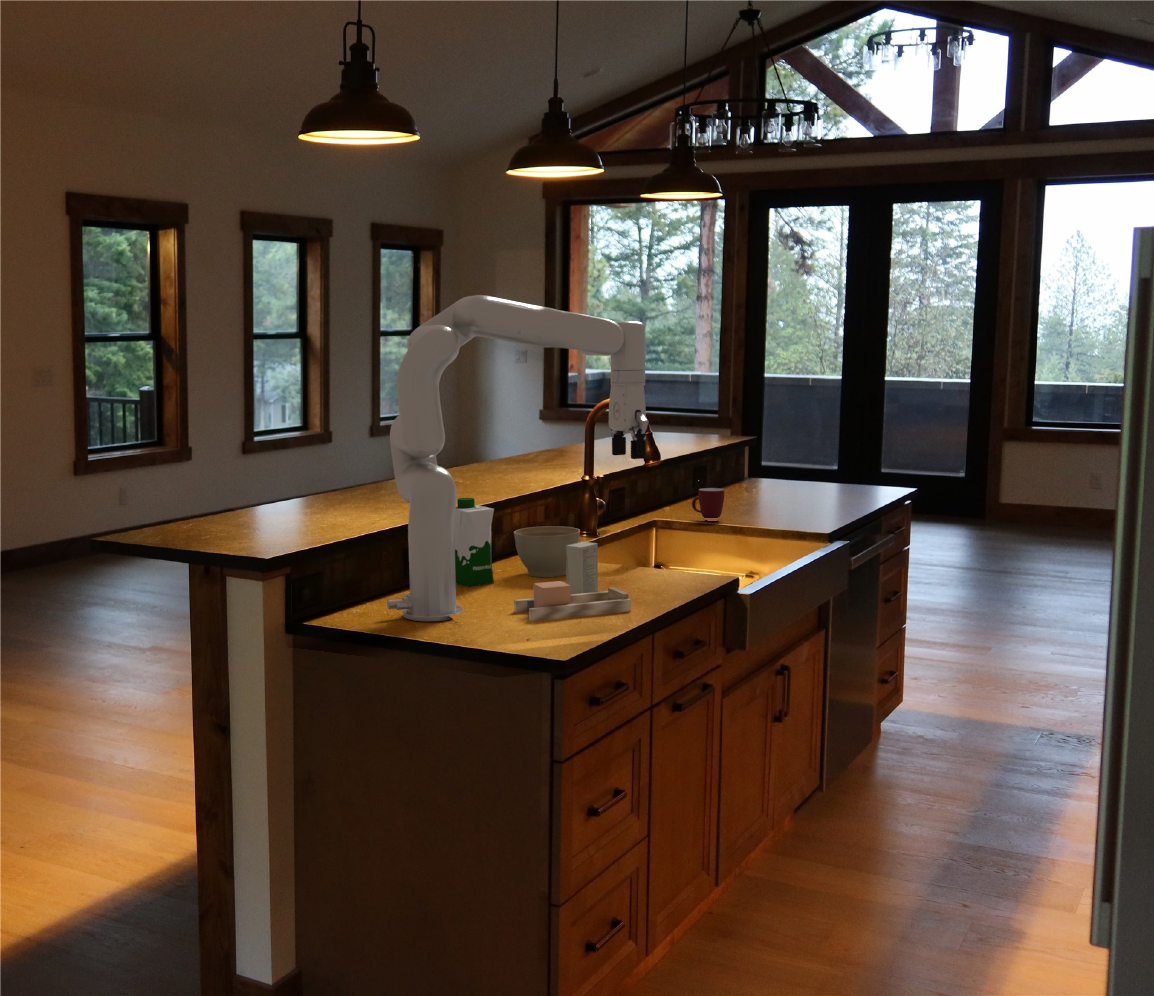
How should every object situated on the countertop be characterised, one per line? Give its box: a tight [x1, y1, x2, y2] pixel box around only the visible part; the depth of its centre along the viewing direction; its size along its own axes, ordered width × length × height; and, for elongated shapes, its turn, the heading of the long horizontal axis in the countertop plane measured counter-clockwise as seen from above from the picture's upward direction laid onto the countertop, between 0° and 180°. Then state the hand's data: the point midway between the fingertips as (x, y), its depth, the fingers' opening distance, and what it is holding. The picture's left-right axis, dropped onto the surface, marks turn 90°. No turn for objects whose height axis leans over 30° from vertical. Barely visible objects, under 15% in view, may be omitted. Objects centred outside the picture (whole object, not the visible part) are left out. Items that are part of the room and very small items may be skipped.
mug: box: [691, 487, 725, 519], centre depth 382 cm, size 11×8×10 cm
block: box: [533, 580, 571, 608], centre depth 249 cm, size 6×5×6 cm
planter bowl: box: [513, 525, 581, 578], centre depth 296 cm, size 16×16×11 cm
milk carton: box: [454, 497, 495, 588], centre depth 285 cm, size 9×9×20 cm
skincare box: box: [566, 541, 599, 594], centre depth 268 cm, size 6×4×12 cm
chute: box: [513, 586, 632, 622], centre depth 250 cm, size 22×10×4 cm, turn 113°
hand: (628, 456), depth 266 cm, fingers open, 9 cm apart
